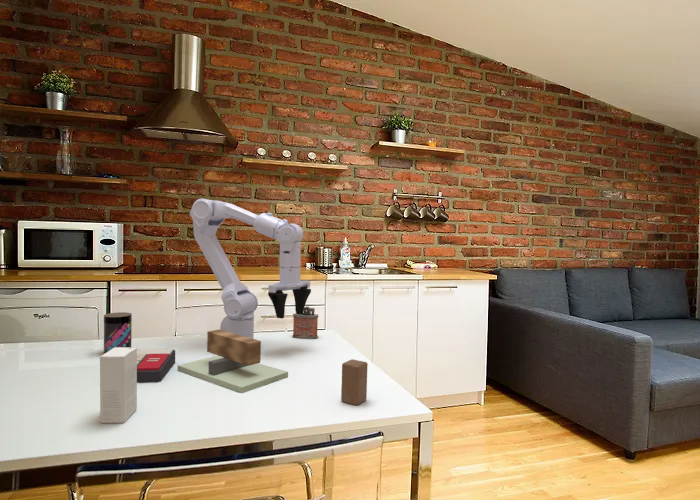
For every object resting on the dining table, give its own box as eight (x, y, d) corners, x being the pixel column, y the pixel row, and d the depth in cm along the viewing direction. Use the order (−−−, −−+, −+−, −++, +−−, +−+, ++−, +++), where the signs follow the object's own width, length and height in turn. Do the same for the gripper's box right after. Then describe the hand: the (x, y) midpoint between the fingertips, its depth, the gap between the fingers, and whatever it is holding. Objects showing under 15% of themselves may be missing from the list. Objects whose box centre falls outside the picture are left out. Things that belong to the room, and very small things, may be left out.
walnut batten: (207, 351, 112) (207, 331, 112) (219, 349, 115) (219, 329, 115) (248, 365, 102) (248, 343, 102) (260, 362, 105) (260, 340, 104)
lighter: (318, 337, 147) (319, 306, 147) (316, 339, 144) (317, 308, 143) (293, 335, 148) (294, 305, 147) (291, 338, 145) (292, 306, 144)
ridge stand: (177, 370, 110) (177, 353, 110) (225, 358, 121) (225, 343, 121) (241, 393, 96) (241, 374, 96) (288, 376, 108) (288, 360, 107)
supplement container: (97, 356, 120) (98, 316, 119) (112, 349, 126) (112, 311, 126) (123, 357, 119) (123, 317, 119) (136, 350, 126) (136, 312, 126)
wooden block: (357, 406, 91) (358, 366, 91) (340, 401, 93) (341, 363, 93) (367, 400, 94) (368, 362, 94) (350, 395, 97) (351, 358, 96)
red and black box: (107, 368, 100) (129, 347, 114) (107, 387, 100) (129, 363, 115) (160, 367, 101) (175, 346, 116) (160, 386, 102) (175, 363, 116)
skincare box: (113, 410, 86) (114, 346, 85) (137, 409, 86) (137, 347, 86) (98, 423, 80) (99, 356, 79) (124, 423, 80) (124, 356, 80)
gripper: (281, 269, 119) (281, 321, 119) (318, 266, 130) (318, 313, 131) (262, 268, 123) (262, 318, 123) (299, 265, 134) (299, 311, 135)
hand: (290, 315), depth 127 cm, fingers open, 7 cm apart
